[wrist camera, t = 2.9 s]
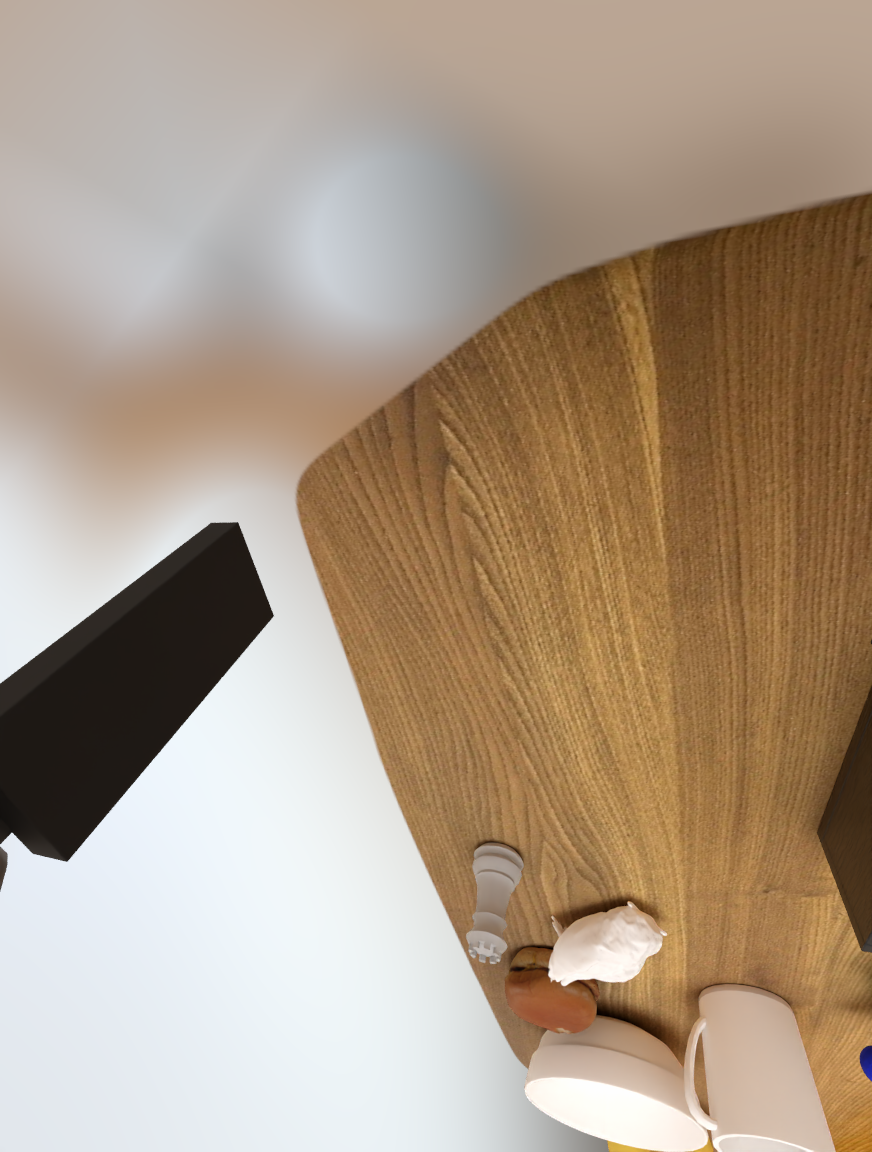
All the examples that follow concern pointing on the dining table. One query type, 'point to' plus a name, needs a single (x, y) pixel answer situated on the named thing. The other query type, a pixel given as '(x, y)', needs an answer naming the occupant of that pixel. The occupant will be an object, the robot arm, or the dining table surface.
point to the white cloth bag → (604, 946)
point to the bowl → (615, 1086)
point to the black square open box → (853, 830)
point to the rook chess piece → (492, 898)
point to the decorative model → (866, 1061)
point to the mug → (754, 1074)
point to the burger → (549, 994)
